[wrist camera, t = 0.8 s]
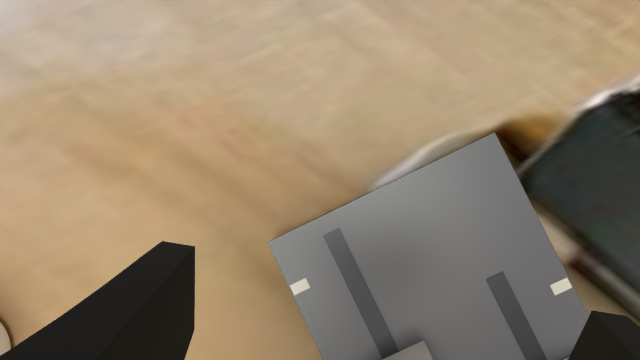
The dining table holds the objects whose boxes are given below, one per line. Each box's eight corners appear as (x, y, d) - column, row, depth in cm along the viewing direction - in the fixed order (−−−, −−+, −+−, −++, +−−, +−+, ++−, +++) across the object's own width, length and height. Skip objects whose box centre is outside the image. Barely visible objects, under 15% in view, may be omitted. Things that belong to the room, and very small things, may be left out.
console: (621, 403, 30) (641, 419, 28) (398, 502, 31) (401, 525, 29) (486, 136, 31) (495, 132, 29) (273, 239, 32) (267, 242, 30)
